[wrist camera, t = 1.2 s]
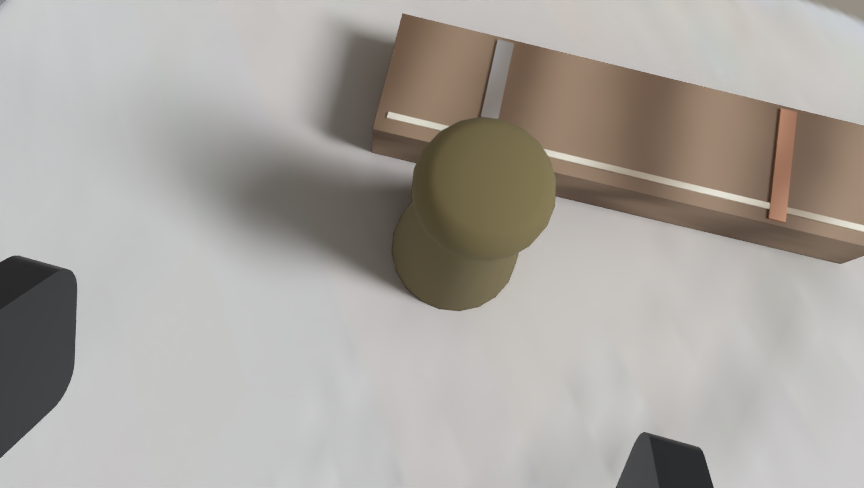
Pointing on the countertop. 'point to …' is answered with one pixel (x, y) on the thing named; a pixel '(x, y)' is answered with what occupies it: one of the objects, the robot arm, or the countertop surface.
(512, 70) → the walnut plank
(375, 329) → the countertop surface
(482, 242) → the cork
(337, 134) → the countertop surface
